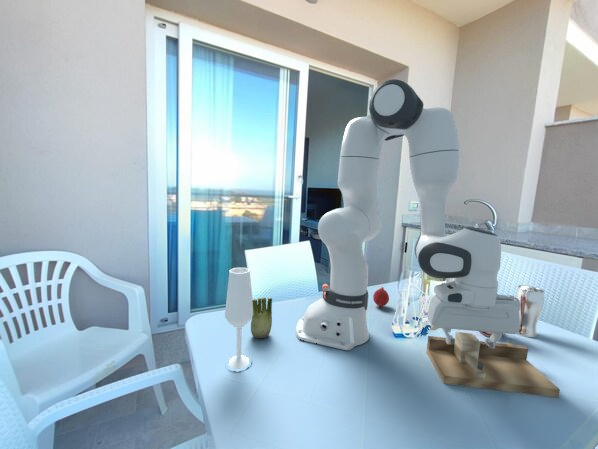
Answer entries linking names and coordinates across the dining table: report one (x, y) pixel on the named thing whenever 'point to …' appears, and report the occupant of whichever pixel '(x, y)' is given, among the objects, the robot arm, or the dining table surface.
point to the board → (491, 368)
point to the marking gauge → (469, 353)
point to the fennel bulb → (261, 318)
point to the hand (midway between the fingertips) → (469, 345)
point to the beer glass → (529, 308)
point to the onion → (381, 297)
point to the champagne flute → (239, 309)
